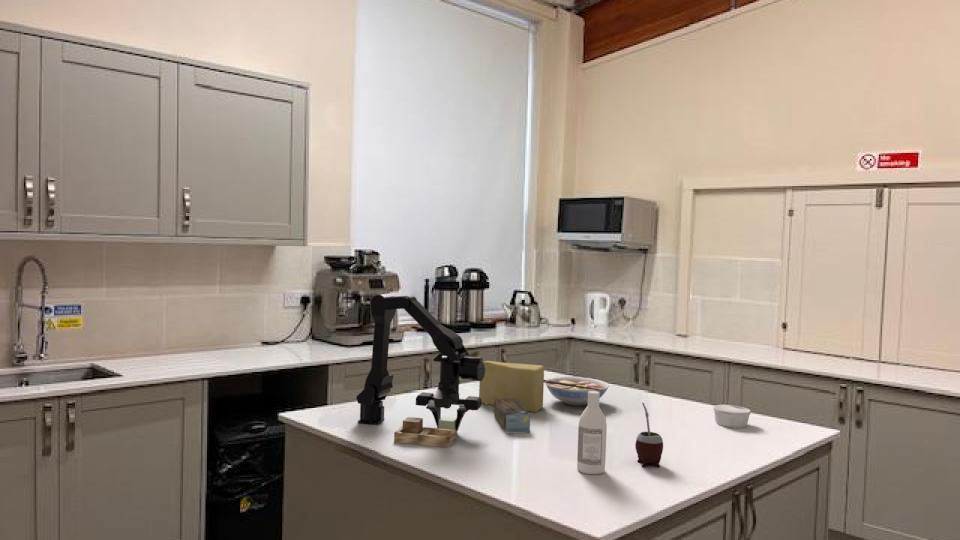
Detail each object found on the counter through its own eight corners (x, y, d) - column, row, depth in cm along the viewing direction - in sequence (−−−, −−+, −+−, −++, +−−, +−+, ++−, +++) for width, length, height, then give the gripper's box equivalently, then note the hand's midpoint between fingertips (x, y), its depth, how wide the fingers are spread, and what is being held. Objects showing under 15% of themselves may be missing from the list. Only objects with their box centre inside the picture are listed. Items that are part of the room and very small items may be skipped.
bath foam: (586, 464, 179) (589, 387, 179) (609, 470, 175) (613, 392, 174) (571, 470, 174) (574, 391, 173) (595, 477, 170) (598, 396, 169)
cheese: (474, 405, 239) (475, 362, 238) (484, 399, 248) (485, 358, 247) (535, 413, 231) (537, 368, 230) (543, 407, 240) (545, 364, 239)
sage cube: (438, 435, 202) (438, 420, 202) (442, 431, 206) (443, 416, 206) (453, 436, 201) (453, 421, 201) (457, 432, 205) (457, 417, 205)
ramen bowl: (621, 402, 249) (622, 380, 249) (596, 415, 230) (596, 391, 229) (558, 392, 262) (559, 371, 262) (529, 404, 243) (530, 381, 243)
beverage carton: (504, 433, 206) (505, 411, 206) (493, 417, 225) (493, 397, 225) (530, 433, 207) (531, 411, 207) (517, 416, 226) (517, 396, 226)
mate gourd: (654, 470, 176) (657, 412, 175) (626, 463, 181) (629, 406, 180) (667, 464, 181) (670, 407, 181) (640, 457, 187) (642, 402, 186)
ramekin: (755, 425, 224) (756, 409, 224) (741, 431, 216) (742, 414, 216) (721, 418, 232) (722, 402, 232) (707, 424, 224) (707, 407, 223)
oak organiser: (394, 442, 194) (394, 432, 193) (403, 434, 201) (403, 425, 201) (449, 447, 190) (449, 437, 190) (456, 439, 198) (456, 430, 198)
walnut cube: (402, 436, 195) (402, 420, 195) (407, 432, 199) (407, 416, 199) (417, 438, 194) (417, 422, 194) (422, 433, 198) (422, 418, 198)
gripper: (410, 380, 197) (408, 434, 198) (474, 385, 193) (472, 440, 194) (422, 373, 208) (420, 424, 209) (482, 377, 204) (481, 430, 204)
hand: (447, 430), depth 204 cm, fingers open, 5 cm apart
